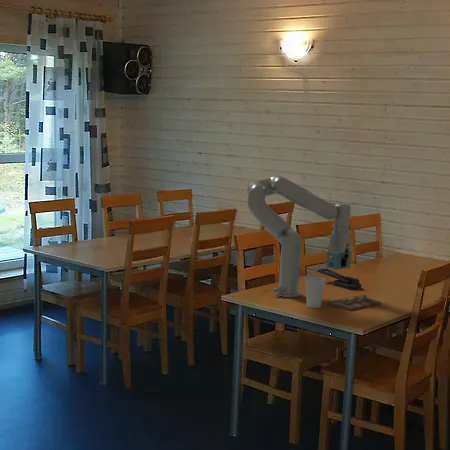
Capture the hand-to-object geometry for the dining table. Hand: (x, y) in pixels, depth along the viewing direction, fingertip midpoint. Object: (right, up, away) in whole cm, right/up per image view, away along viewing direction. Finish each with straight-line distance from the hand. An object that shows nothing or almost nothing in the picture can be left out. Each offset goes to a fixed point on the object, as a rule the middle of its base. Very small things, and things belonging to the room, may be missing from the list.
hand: (338, 265), depth 349 cm
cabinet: (0, -1, 0) cm, 1 cm away
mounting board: (+5, -18, -14) cm, 23 cm away
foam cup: (-14, -18, -19) cm, 30 cm away
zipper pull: (+4, -12, +26) cm, 29 cm away
